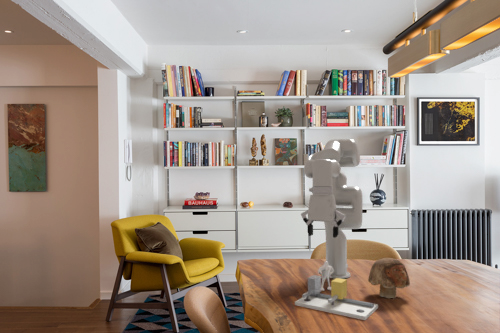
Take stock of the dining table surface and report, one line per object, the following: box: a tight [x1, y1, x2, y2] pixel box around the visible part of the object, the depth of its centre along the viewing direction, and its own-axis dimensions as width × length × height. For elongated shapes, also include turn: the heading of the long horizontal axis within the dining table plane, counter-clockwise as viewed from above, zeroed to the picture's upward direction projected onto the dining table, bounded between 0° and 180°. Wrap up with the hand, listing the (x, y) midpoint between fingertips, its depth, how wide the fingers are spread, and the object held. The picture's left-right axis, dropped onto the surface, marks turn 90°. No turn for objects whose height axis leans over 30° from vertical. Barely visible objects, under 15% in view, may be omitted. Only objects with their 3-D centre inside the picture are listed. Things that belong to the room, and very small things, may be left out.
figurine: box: [317, 260, 334, 292], centre depth 160 cm, size 7×4×12 cm, turn 108°
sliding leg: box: [328, 278, 348, 305], centre depth 140 cm, size 12×4×7 cm, turn 145°
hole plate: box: [294, 296, 379, 321], centre depth 140 cm, size 14×26×1 cm, turn 55°
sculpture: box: [367, 257, 411, 299], centre depth 150 cm, size 15×16×15 cm
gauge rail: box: [301, 274, 375, 308], centre depth 140 cm, size 12×25×7 cm, turn 55°
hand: (322, 236), depth 148 cm, fingers open, 9 cm apart
